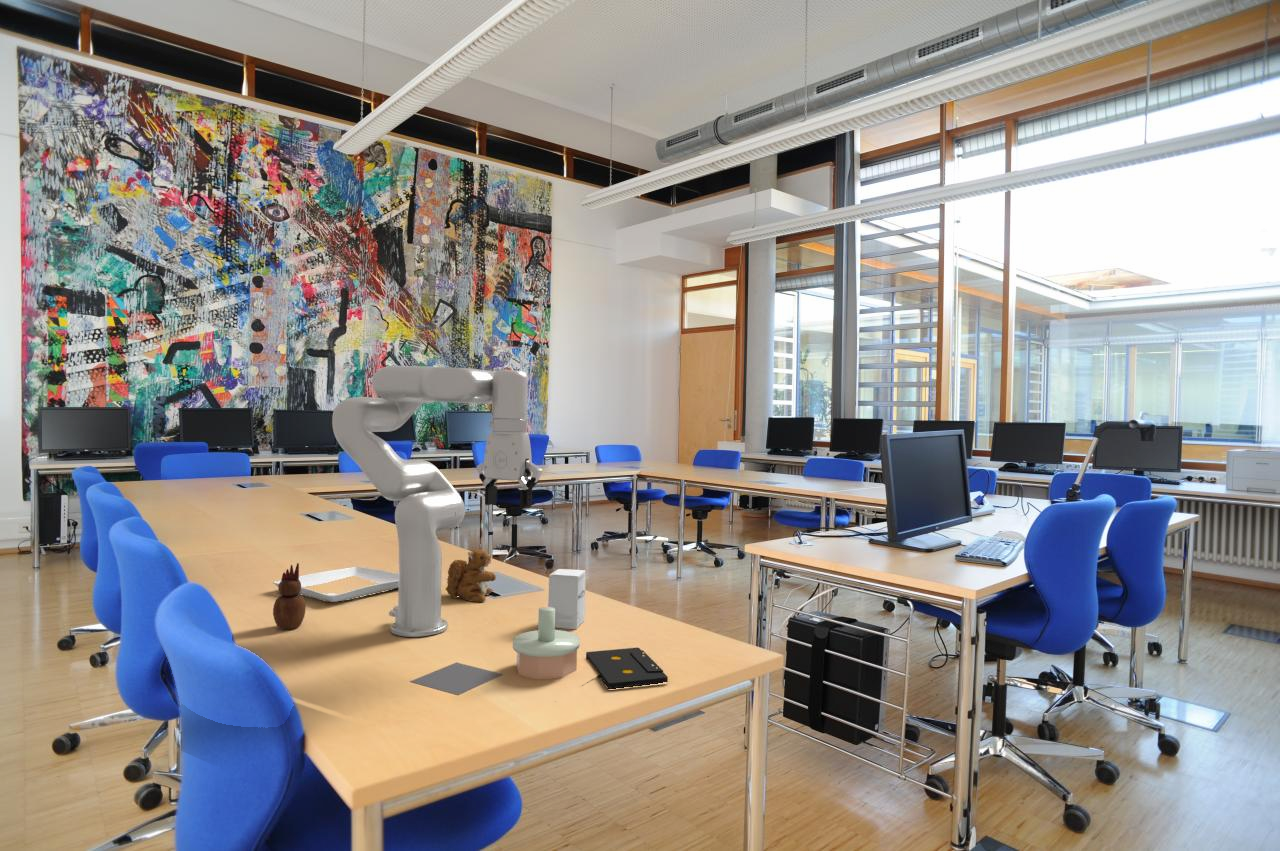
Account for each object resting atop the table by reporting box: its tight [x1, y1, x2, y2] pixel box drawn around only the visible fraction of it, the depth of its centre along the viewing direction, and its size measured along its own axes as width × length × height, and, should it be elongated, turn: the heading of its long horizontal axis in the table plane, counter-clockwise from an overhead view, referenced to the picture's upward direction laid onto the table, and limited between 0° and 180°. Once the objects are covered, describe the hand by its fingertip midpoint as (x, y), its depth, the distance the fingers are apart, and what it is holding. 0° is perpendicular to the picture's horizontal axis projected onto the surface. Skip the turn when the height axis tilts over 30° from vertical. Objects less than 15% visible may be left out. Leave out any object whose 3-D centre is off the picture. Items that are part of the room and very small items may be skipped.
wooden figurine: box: [272, 562, 307, 630], centre depth 164 cm, size 7×6×15 cm
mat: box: [409, 662, 504, 696], centre depth 133 cm, size 12×12×1 cm
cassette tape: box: [585, 647, 669, 690], centre depth 140 cm, size 18×12×2 cm, turn 18°
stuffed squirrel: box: [445, 548, 497, 603], centre depth 195 cm, size 10×14×13 cm
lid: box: [512, 606, 581, 657], centre depth 139 cm, size 13×13×7 cm
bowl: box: [516, 649, 578, 680], centre depth 139 cm, size 11×11×5 cm
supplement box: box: [547, 568, 587, 630], centre depth 171 cm, size 7×7×13 cm
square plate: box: [272, 566, 399, 603], centre depth 199 cm, size 27×27×4 cm
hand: (508, 506), depth 154 cm, fingers open, 9 cm apart
